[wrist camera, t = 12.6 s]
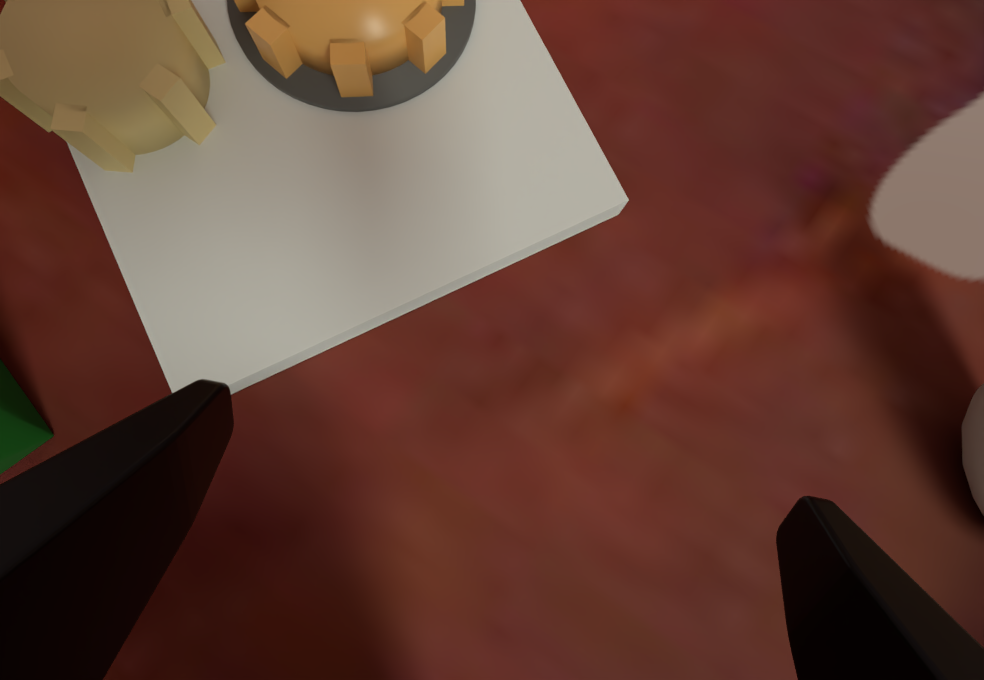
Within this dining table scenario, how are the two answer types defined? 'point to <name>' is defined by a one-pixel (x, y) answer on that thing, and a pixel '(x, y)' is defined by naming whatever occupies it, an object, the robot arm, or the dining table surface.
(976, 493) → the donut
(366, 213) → the carrier plate
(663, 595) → the dining table surface
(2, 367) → the milk carton
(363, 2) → the planet gear
